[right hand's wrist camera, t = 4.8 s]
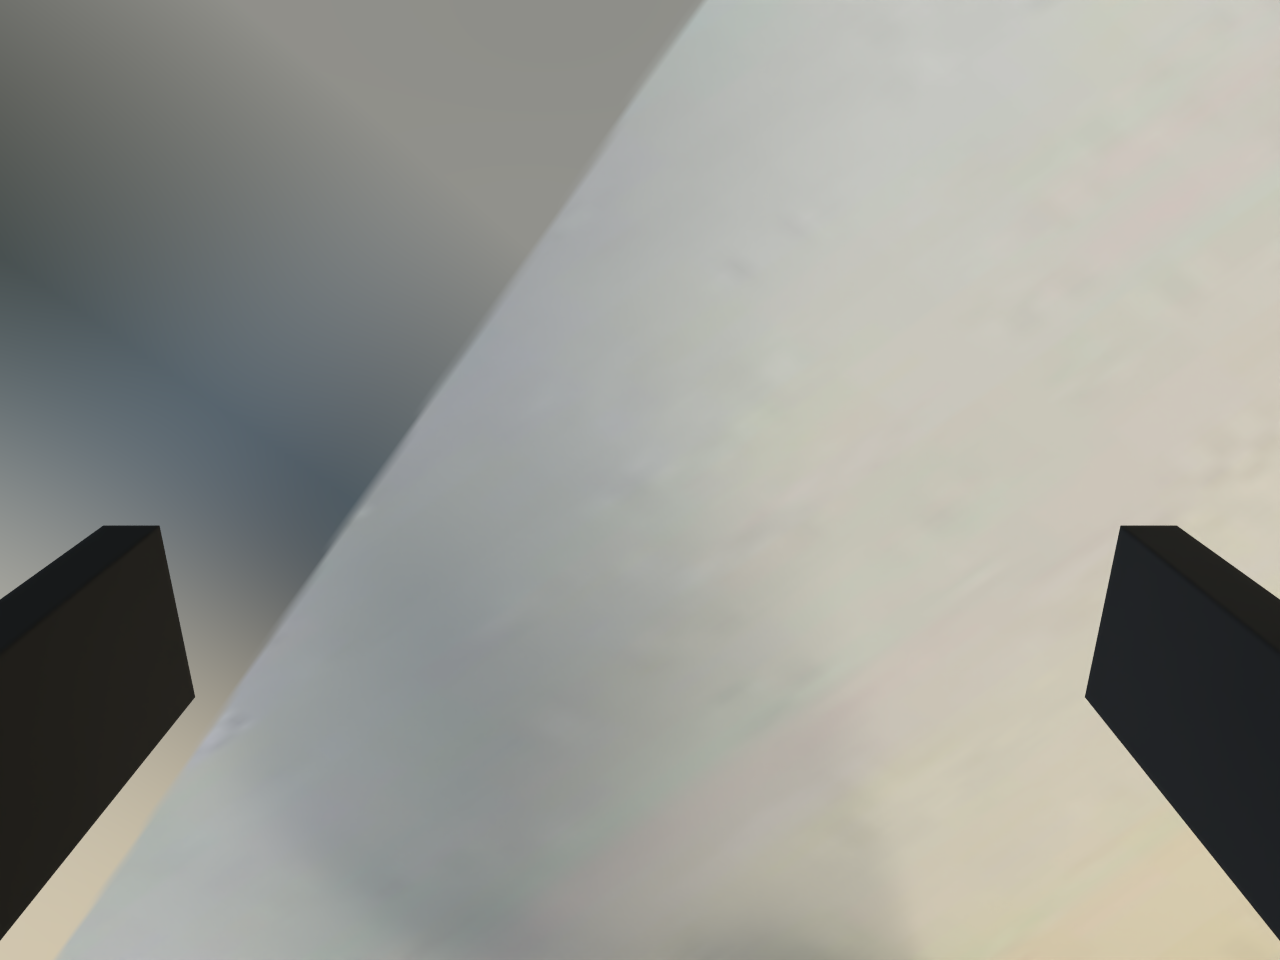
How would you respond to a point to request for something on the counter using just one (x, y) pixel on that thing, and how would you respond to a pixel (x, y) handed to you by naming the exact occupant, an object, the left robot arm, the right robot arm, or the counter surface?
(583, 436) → the counter surface
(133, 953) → the counter surface
